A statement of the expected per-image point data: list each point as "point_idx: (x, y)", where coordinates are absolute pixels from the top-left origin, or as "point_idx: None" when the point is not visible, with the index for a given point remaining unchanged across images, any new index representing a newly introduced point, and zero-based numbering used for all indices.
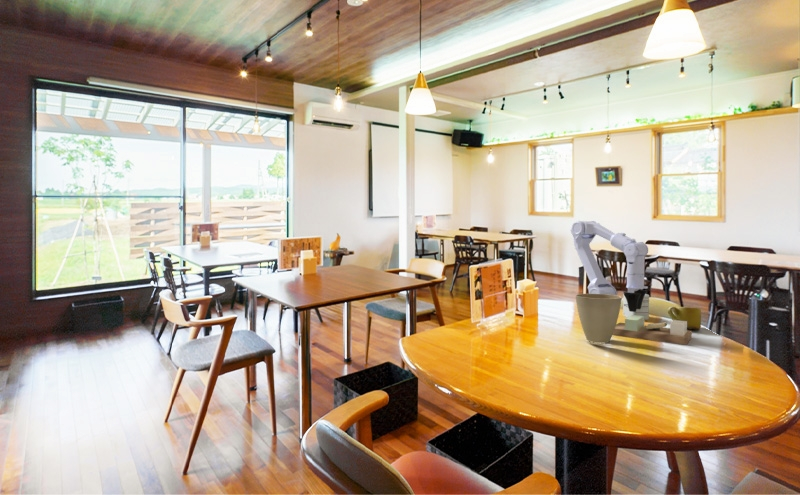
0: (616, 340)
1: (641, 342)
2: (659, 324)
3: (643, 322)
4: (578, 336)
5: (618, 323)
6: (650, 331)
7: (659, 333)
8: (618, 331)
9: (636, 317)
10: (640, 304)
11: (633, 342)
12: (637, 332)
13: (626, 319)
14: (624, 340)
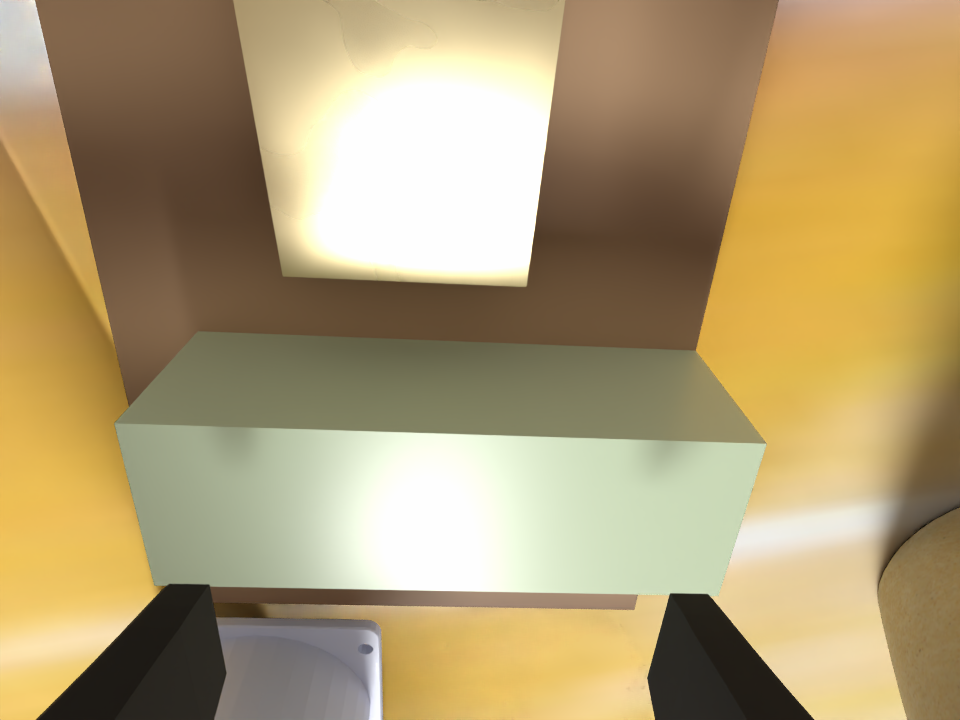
0: (897, 457)
1: (902, 228)
2: (506, 62)
3: (226, 365)
4: (849, 701)
5: (260, 601)
6: (594, 189)
7: (702, 31)
8: None
9: (431, 498)
10: (146, 696)
11: (938, 304)
12: (692, 337)
13: (722, 575)
14: (862, 397)
